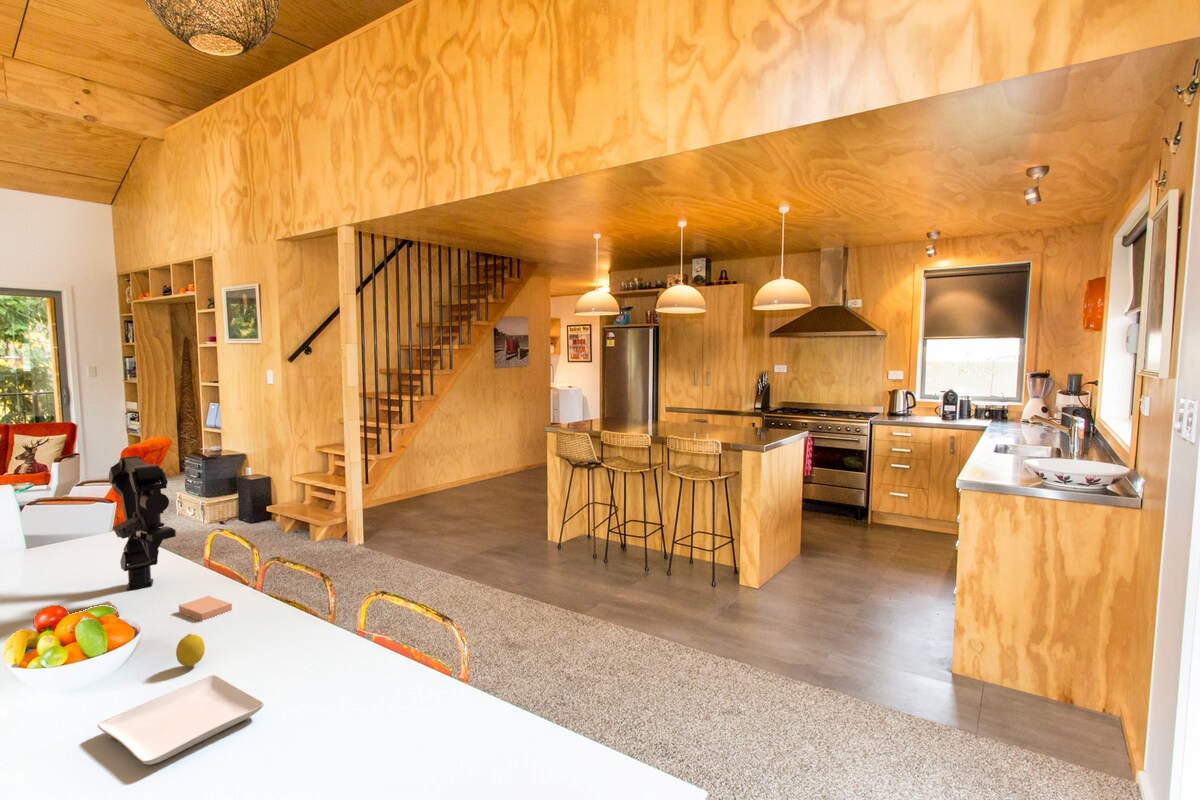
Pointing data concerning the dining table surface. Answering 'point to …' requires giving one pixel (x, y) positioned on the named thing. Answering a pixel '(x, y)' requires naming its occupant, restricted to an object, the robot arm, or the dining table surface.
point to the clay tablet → (92, 606)
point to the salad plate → (180, 718)
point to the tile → (205, 608)
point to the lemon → (190, 650)
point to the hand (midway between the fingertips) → (151, 558)
